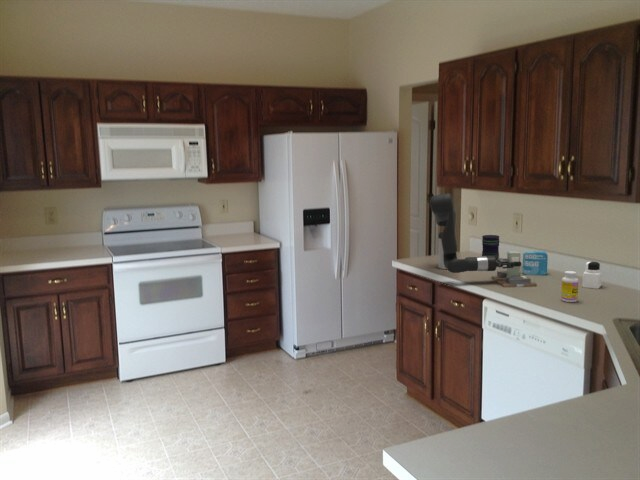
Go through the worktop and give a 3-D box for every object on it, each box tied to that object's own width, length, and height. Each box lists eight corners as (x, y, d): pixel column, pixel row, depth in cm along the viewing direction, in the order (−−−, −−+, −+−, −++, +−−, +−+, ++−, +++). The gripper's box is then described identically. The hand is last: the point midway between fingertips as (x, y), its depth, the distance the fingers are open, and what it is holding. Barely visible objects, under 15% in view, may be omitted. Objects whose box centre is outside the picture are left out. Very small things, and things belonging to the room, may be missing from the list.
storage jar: (478, 259, 343) (479, 235, 341) (493, 258, 345) (494, 234, 342) (486, 262, 333) (487, 237, 331) (502, 261, 335) (502, 236, 333)
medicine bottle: (601, 285, 273) (602, 261, 271) (598, 289, 267) (599, 264, 265) (584, 284, 277) (586, 260, 275) (582, 287, 271) (583, 262, 269)
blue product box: (522, 274, 301) (523, 252, 299) (522, 272, 305) (523, 250, 303) (547, 275, 298) (547, 253, 296) (546, 273, 302) (547, 251, 300)
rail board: (491, 277, 295) (491, 270, 295) (521, 277, 296) (522, 269, 295) (503, 287, 276) (504, 279, 275) (536, 286, 276) (536, 278, 275)
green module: (506, 276, 288) (507, 251, 286) (516, 276, 288) (517, 251, 286) (509, 278, 283) (510, 253, 281) (519, 278, 283) (520, 253, 281)
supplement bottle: (572, 303, 245) (573, 274, 243) (558, 300, 250) (559, 272, 248) (580, 300, 248) (581, 272, 246) (566, 297, 254) (567, 269, 252)
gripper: (489, 259, 276) (524, 258, 276) (481, 253, 290) (514, 252, 291) (489, 274, 278) (524, 273, 278) (480, 268, 292) (513, 267, 292)
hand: (518, 262), depth 284 cm, fingers closed on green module, 4 cm apart
